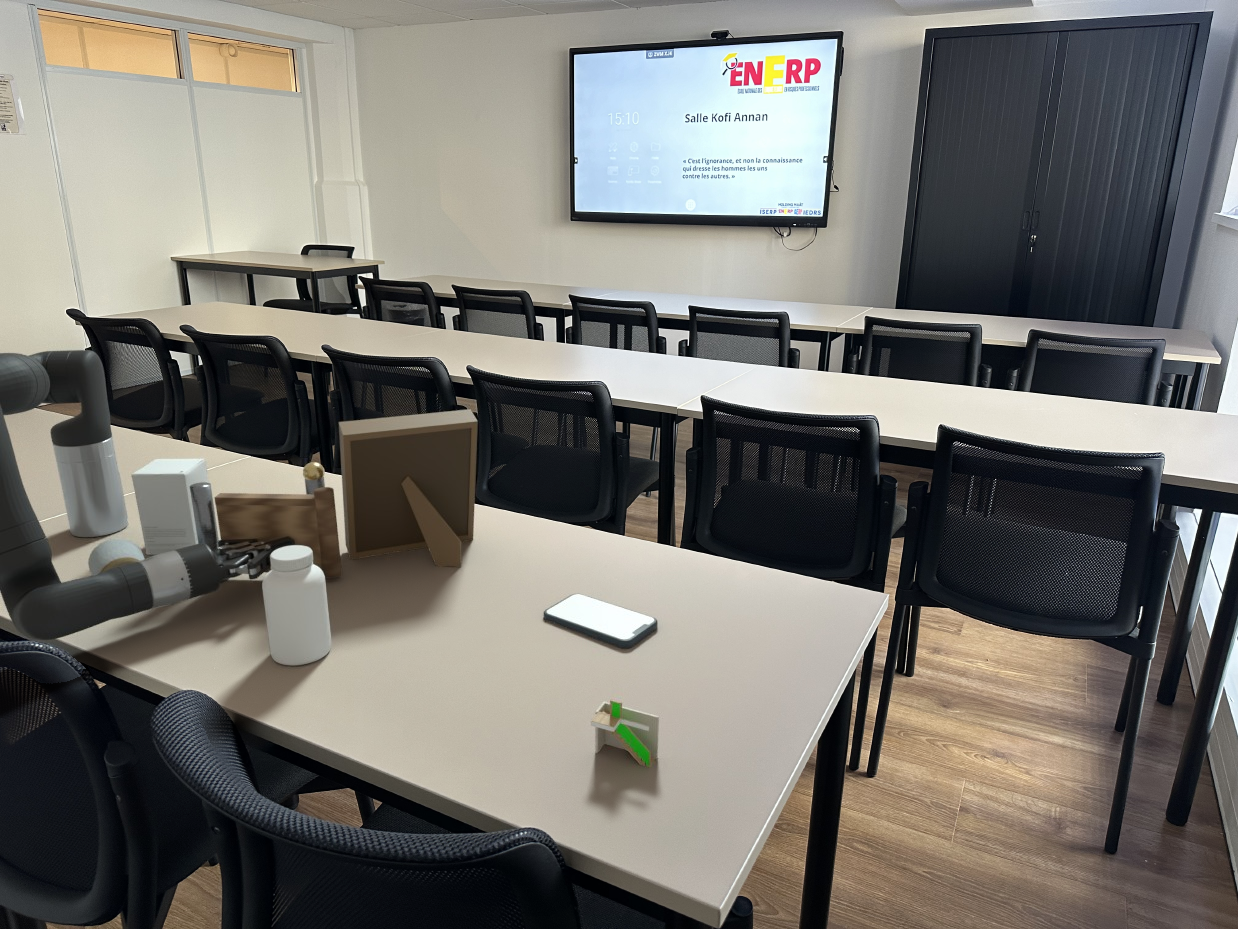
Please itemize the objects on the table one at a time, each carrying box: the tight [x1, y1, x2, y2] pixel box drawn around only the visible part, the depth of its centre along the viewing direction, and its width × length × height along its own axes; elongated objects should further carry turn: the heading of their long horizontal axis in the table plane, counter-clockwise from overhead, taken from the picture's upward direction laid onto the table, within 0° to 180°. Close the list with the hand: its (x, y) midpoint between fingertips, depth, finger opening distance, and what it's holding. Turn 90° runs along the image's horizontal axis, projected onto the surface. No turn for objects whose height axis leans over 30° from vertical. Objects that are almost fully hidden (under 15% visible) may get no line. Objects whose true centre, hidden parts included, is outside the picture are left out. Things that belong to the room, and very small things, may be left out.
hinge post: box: [190, 482, 230, 584], centre depth 137 cm, size 5×5×16 cm
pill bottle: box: [261, 545, 332, 666], centre depth 115 cm, size 8×8×15 cm
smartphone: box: [543, 593, 658, 650], centre depth 127 cm, size 9×2×16 cm
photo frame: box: [338, 408, 479, 568], centre depth 144 cm, size 15×22×25 cm
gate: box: [213, 486, 343, 579], centre depth 137 cm, size 18×3×14 cm, turn 89°
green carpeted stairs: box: [590, 698, 660, 769], centre depth 95 cm, size 4×7×8 cm, turn 66°
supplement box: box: [131, 458, 210, 556], centre depth 149 cm, size 9×9×15 cm
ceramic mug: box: [87, 537, 146, 576], centre depth 134 cm, size 11×8×8 cm
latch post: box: [302, 461, 326, 495], centre depth 142 cm, size 5×5×18 cm
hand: (292, 543), depth 136 cm, fingers closed
